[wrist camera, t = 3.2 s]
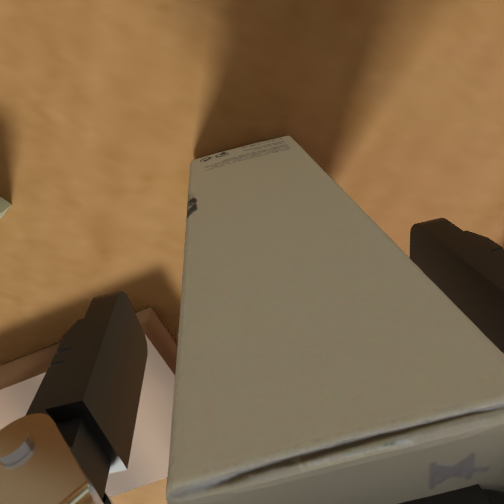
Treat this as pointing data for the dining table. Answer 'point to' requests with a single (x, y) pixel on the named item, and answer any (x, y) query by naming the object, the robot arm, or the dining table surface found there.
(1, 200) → the sage brick
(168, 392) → the brown flat block
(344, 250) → the box
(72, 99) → the dining table surface
